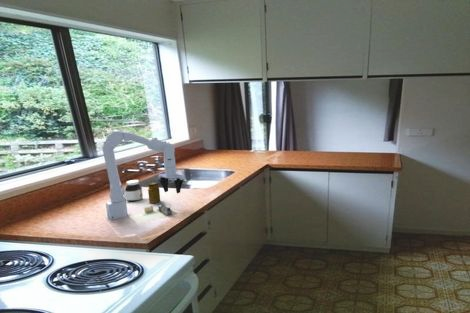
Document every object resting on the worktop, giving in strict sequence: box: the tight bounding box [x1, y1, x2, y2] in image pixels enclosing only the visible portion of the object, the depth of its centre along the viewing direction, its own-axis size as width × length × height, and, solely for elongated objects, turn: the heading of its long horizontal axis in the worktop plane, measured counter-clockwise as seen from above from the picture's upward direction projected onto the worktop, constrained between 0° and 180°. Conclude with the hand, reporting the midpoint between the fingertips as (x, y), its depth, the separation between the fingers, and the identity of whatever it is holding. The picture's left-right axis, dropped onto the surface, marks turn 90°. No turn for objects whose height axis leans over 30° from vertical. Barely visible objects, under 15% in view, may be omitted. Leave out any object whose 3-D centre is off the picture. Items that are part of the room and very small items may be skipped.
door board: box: [129, 208, 178, 225], centre depth 160 cm, size 20×13×1 cm, turn 125°
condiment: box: [147, 181, 161, 205], centre depth 179 cm, size 7×8×12 cm
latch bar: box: [157, 203, 173, 217], centre depth 162 cm, size 12×3×3 cm, turn 35°
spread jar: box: [124, 179, 143, 203], centre depth 188 cm, size 12×11×12 cm
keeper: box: [143, 205, 154, 213], centre depth 164 cm, size 4×2×2 cm, turn 125°
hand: (172, 192), depth 167 cm, fingers open, 7 cm apart
